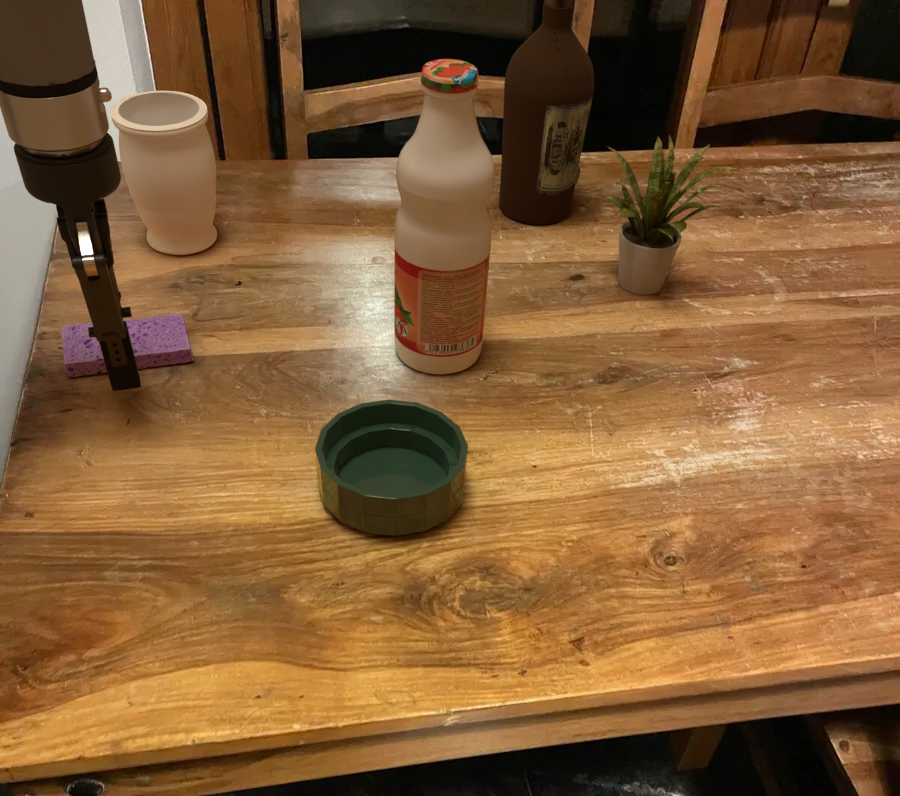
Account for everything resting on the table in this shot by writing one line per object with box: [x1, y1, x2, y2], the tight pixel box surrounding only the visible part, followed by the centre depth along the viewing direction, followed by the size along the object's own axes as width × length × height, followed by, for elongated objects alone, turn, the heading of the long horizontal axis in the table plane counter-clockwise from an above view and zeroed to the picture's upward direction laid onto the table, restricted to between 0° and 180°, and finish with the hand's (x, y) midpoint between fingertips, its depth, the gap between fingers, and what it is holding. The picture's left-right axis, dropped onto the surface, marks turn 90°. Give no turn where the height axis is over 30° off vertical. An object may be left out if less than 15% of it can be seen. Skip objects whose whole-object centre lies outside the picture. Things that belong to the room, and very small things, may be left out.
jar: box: [110, 90, 218, 256], centre depth 107 cm, size 11×10×15 cm
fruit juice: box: [393, 58, 496, 375], centre depth 90 cm, size 9×9×28 cm
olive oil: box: [498, 0, 595, 226], centre depth 113 cm, size 11×11×25 cm
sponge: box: [61, 312, 195, 378], centre depth 97 cm, size 7×13×2 cm, turn 106°
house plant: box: [605, 134, 741, 296], centre depth 104 cm, size 14×14×16 cm
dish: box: [314, 399, 469, 537], centre depth 84 cm, size 13×13×5 cm
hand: (126, 384), depth 91 cm, fingers closed
